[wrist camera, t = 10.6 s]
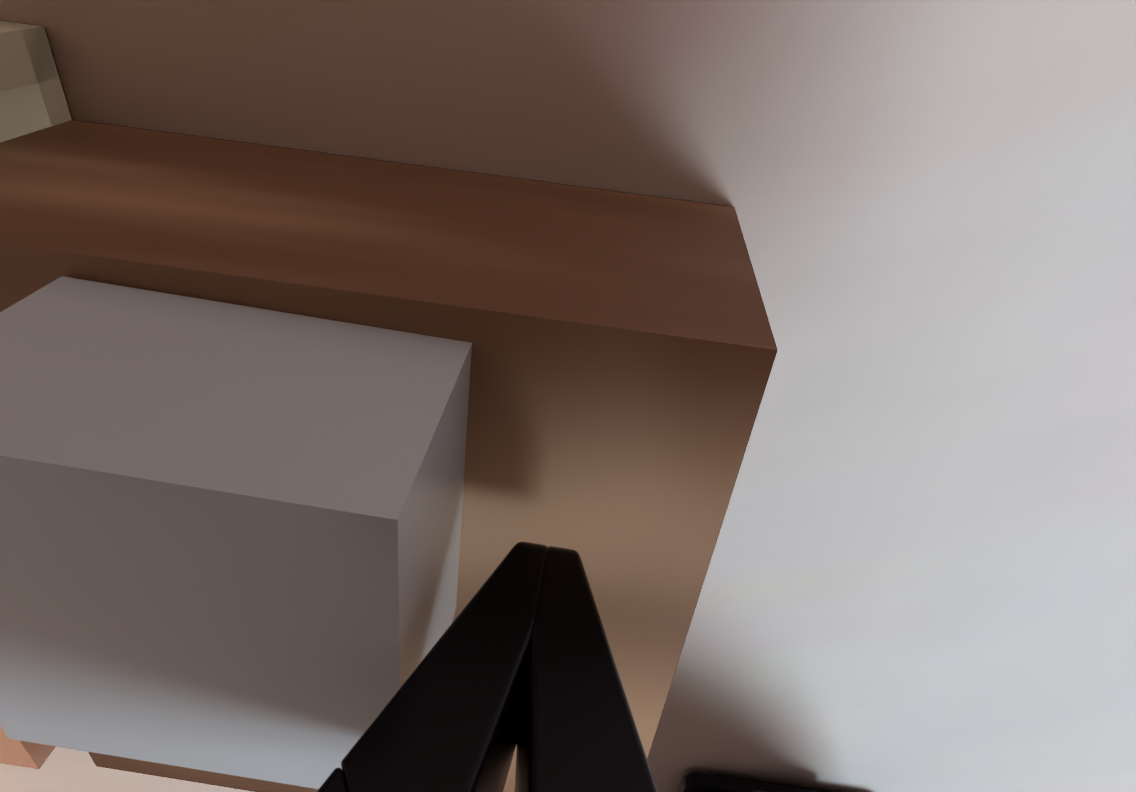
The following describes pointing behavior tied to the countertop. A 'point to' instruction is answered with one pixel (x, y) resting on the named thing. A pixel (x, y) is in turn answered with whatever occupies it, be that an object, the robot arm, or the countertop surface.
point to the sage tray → (28, 82)
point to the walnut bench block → (458, 338)
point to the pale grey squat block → (220, 526)
